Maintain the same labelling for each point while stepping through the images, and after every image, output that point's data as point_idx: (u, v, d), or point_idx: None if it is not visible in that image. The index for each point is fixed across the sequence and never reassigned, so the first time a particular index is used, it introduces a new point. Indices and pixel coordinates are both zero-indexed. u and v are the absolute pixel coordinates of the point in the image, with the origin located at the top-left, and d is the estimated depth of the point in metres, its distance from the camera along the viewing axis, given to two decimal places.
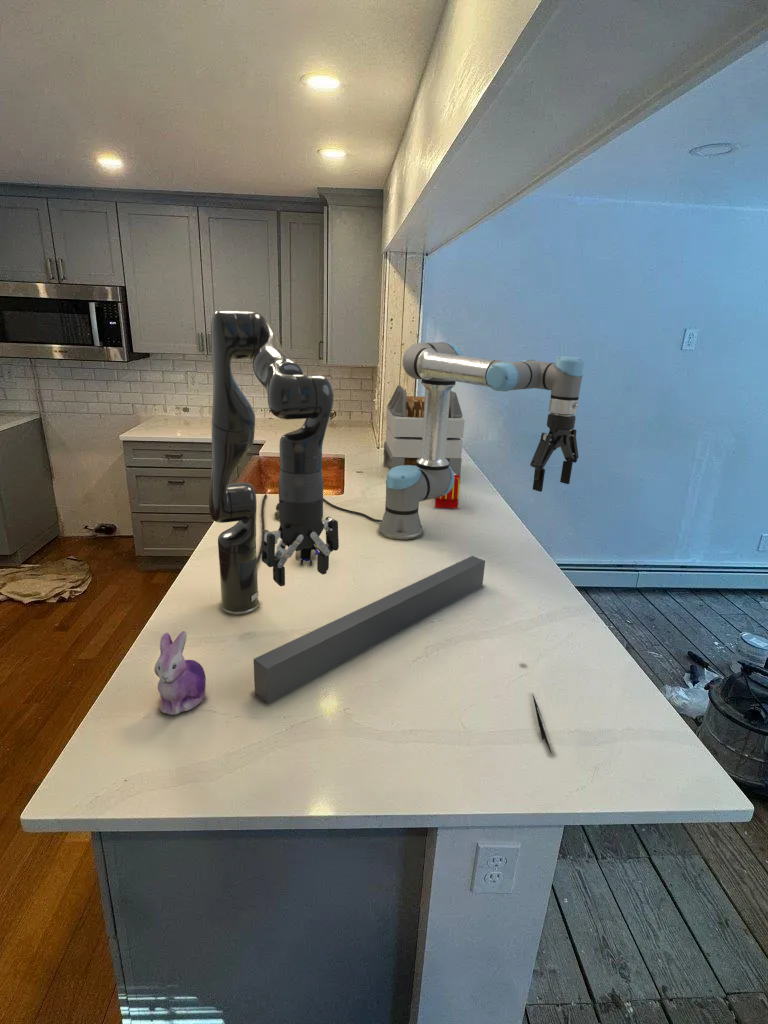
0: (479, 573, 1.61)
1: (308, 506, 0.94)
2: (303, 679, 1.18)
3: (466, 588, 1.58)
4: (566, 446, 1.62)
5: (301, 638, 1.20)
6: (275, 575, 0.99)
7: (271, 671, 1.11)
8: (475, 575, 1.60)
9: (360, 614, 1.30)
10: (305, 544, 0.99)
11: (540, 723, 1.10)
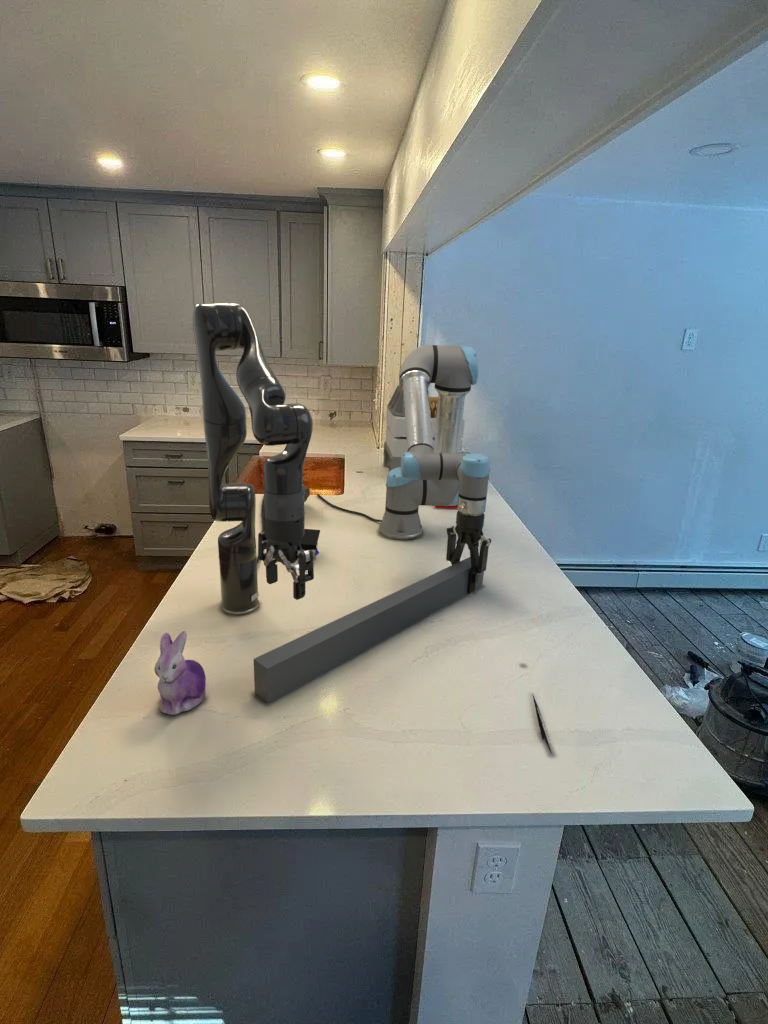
0: (479, 573, 1.61)
1: None
2: (303, 679, 1.18)
3: (466, 588, 1.58)
4: None
5: (301, 638, 1.20)
6: (303, 589, 1.07)
7: (271, 670, 1.11)
8: None
9: (360, 614, 1.30)
10: None
11: (540, 723, 1.10)
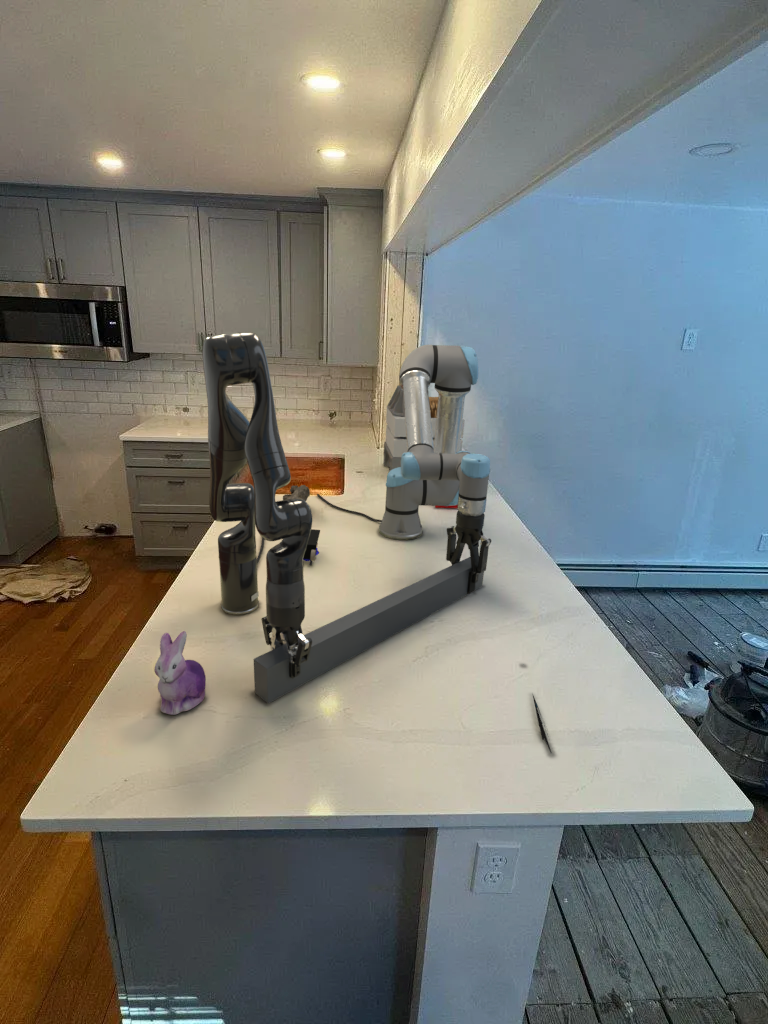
0: (479, 573, 1.61)
1: None
2: (303, 679, 1.18)
3: (466, 588, 1.58)
4: None
5: None
6: (298, 669, 1.14)
7: (271, 670, 1.11)
8: None
9: (360, 614, 1.30)
10: None
11: (540, 723, 1.10)
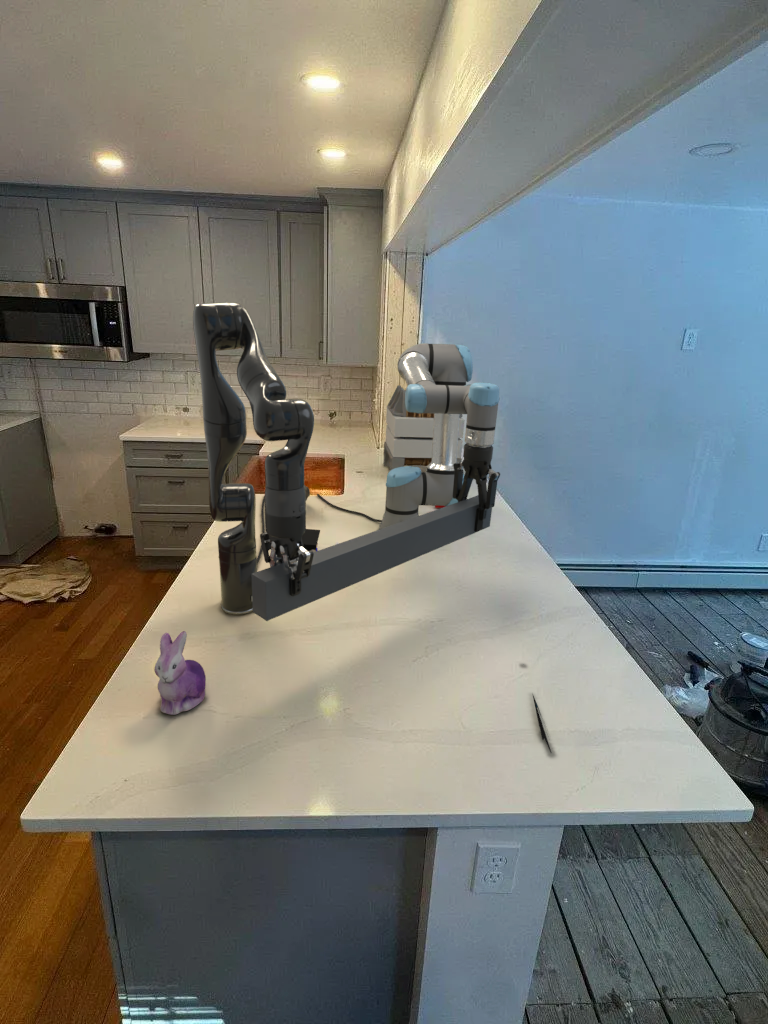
0: (487, 511, 1.55)
1: None
2: (304, 600, 1.12)
3: (473, 526, 1.52)
4: None
5: None
6: (299, 586, 1.08)
7: (269, 585, 1.04)
8: None
9: (364, 539, 1.24)
10: None
11: (540, 723, 1.10)
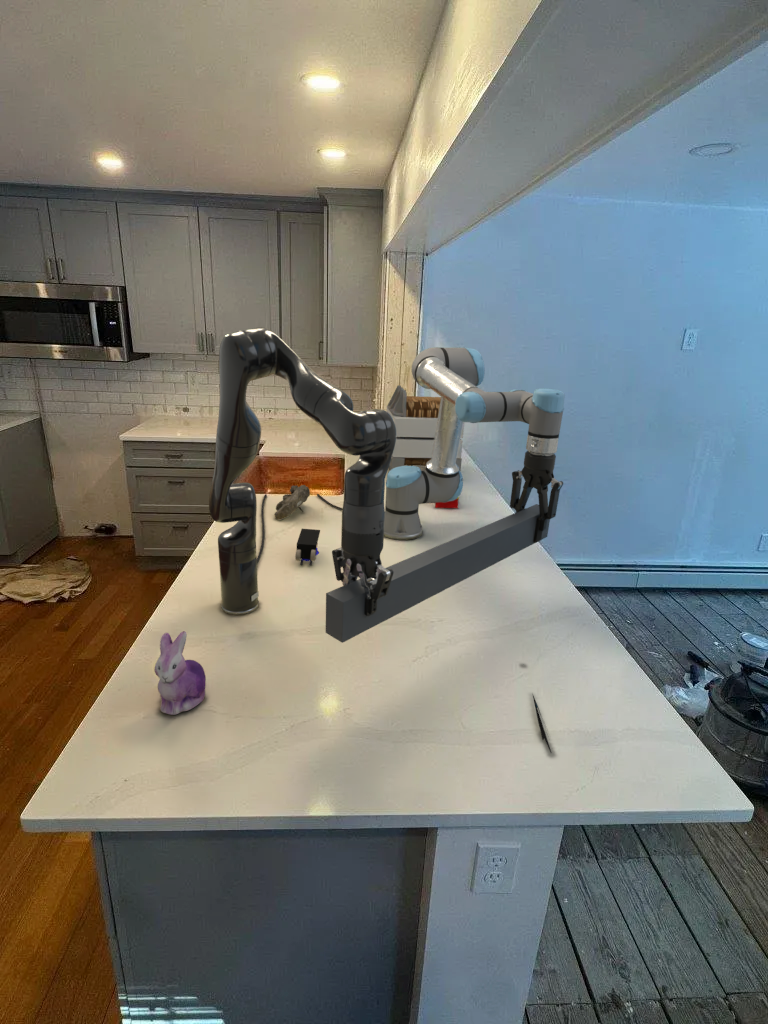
0: None
1: None
2: (377, 619, 1.07)
3: (532, 537, 1.47)
4: None
5: None
6: (375, 605, 1.03)
7: (347, 605, 0.99)
8: None
9: (433, 554, 1.19)
10: None
11: (540, 723, 1.10)
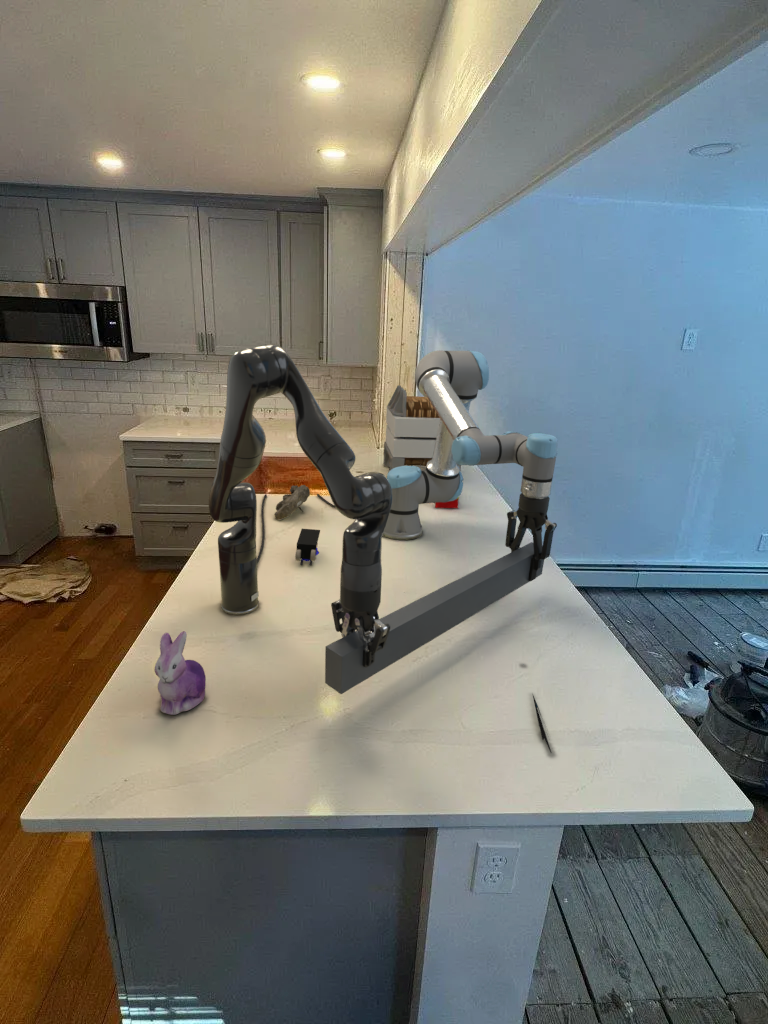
0: None
1: None
2: (375, 668, 1.11)
3: (527, 576, 1.50)
4: None
5: None
6: (373, 657, 1.07)
7: (345, 659, 1.03)
8: None
9: (429, 601, 1.23)
10: None
11: (540, 723, 1.10)
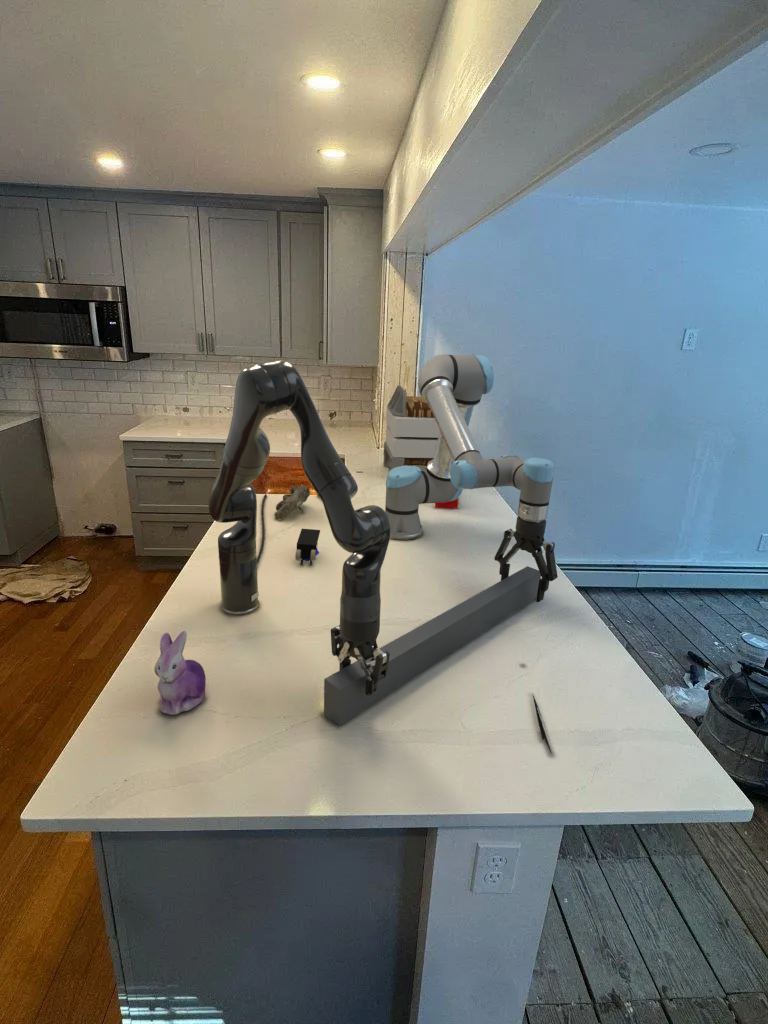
0: (536, 584, 1.56)
1: None
2: (373, 699, 1.13)
3: (523, 600, 1.53)
4: None
5: None
6: (375, 686, 1.08)
7: (343, 692, 1.05)
8: (532, 587, 1.55)
9: (426, 630, 1.25)
10: None
11: (540, 723, 1.10)
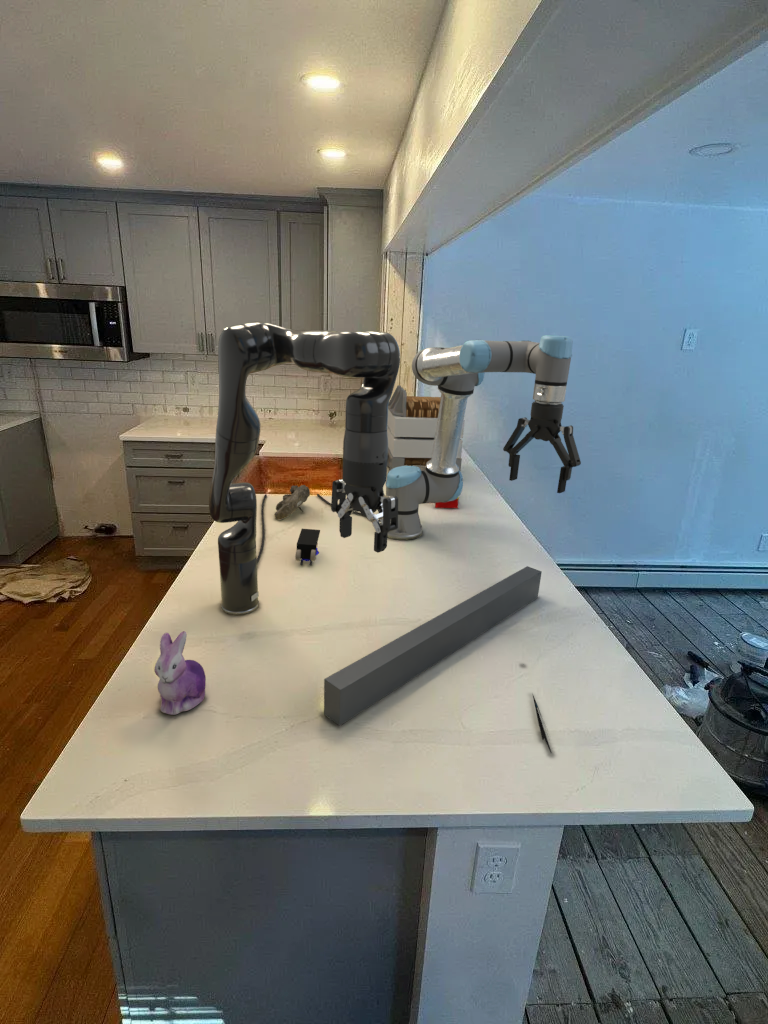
0: (536, 584, 1.56)
1: None
2: (373, 699, 1.13)
3: (523, 600, 1.53)
4: None
5: (369, 656, 1.15)
6: (385, 541, 0.97)
7: (343, 692, 1.05)
8: (532, 587, 1.55)
9: (426, 630, 1.25)
10: None
11: (540, 723, 1.10)
